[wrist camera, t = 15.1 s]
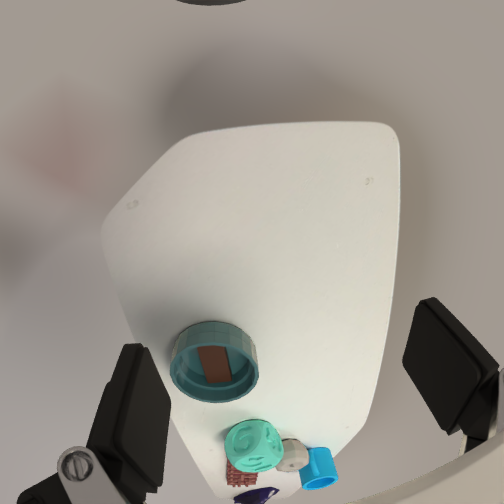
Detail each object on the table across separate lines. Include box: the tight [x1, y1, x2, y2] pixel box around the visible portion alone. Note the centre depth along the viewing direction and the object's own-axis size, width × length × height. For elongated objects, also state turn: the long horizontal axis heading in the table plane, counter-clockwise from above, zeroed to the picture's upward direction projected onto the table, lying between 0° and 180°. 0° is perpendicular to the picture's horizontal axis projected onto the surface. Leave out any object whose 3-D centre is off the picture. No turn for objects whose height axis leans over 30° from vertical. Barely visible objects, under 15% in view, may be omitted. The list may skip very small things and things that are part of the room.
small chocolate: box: [197, 345, 232, 383], centre depth 39 cm, size 8×4×2 cm, turn 7°
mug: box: [299, 447, 338, 490], centre depth 51 cm, size 12×8×8 cm
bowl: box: [170, 322, 259, 403], centre depth 38 cm, size 12×12×5 cm
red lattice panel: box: [227, 459, 258, 487], centre depth 54 cm, size 7×19×2 cm, turn 176°
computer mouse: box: [233, 487, 279, 504], centre depth 62 cm, size 9×15×4 cm, turn 127°
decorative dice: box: [224, 420, 284, 473], centre depth 45 cm, size 8×8×8 cm
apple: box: [275, 439, 309, 472], centre depth 49 cm, size 8×8×7 cm
